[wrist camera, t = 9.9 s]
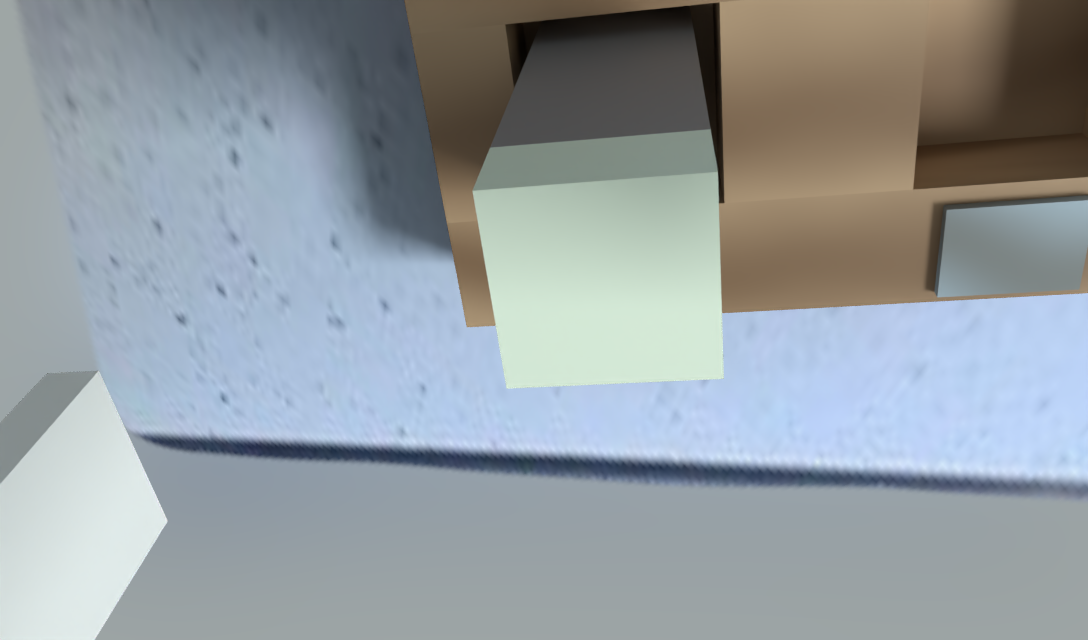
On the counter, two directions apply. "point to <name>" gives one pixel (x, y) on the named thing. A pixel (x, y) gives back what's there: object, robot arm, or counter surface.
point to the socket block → (827, 141)
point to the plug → (605, 208)
